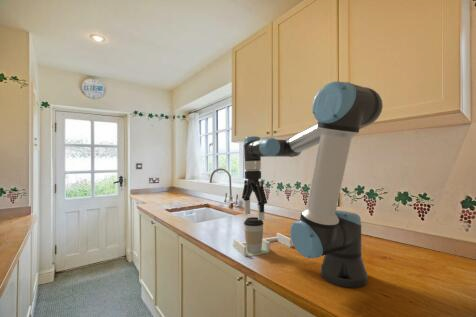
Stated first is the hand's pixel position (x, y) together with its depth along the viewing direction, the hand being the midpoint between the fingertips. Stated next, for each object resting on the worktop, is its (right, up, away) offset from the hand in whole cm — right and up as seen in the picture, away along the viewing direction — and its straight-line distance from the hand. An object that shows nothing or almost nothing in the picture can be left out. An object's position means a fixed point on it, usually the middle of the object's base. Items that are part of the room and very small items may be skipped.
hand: (253, 216), depth 109 cm
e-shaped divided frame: (+4, -16, +5) cm, 17 cm away
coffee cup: (0, -16, 0) cm, 16 cm away
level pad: (0, -16, 0) cm, 16 cm away
